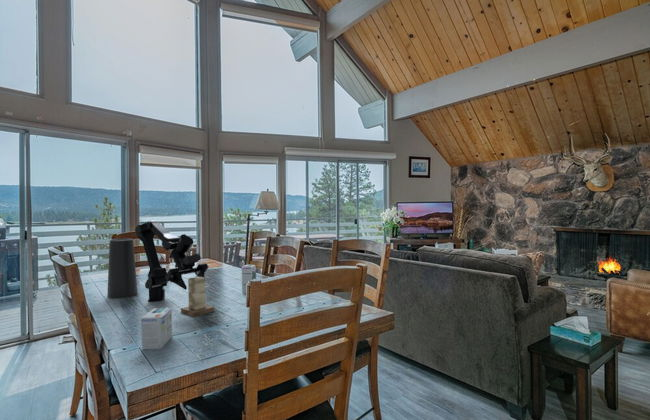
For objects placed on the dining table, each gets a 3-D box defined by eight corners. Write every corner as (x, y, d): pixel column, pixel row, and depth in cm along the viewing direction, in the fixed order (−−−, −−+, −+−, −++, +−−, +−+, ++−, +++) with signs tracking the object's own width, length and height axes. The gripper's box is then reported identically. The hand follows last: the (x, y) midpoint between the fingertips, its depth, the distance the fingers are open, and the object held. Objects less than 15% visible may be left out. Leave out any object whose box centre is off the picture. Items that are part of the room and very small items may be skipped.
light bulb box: (153, 337, 129) (152, 307, 129) (172, 337, 130) (172, 307, 130) (140, 350, 119) (140, 317, 118) (162, 349, 119) (161, 316, 119)
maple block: (188, 308, 158) (188, 278, 158) (198, 305, 162) (197, 276, 162) (196, 309, 155) (195, 279, 155) (205, 306, 160) (205, 277, 159)
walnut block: (180, 314, 158) (180, 308, 158) (200, 308, 166) (200, 303, 166) (194, 318, 152) (194, 312, 152) (214, 312, 160) (214, 306, 160)
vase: (101, 297, 184) (99, 240, 183) (124, 290, 197) (123, 237, 196) (120, 299, 179) (119, 241, 178) (143, 293, 192) (142, 238, 191)
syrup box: (252, 294, 188) (252, 266, 188) (241, 293, 189) (241, 266, 189) (256, 291, 194) (256, 264, 193) (246, 291, 195) (245, 264, 194)
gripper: (168, 250, 154) (183, 279, 148) (205, 246, 169) (221, 272, 163) (158, 266, 159) (173, 295, 153) (196, 260, 174) (210, 287, 168)
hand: (195, 287), depth 159 cm, fingers open, 9 cm apart
